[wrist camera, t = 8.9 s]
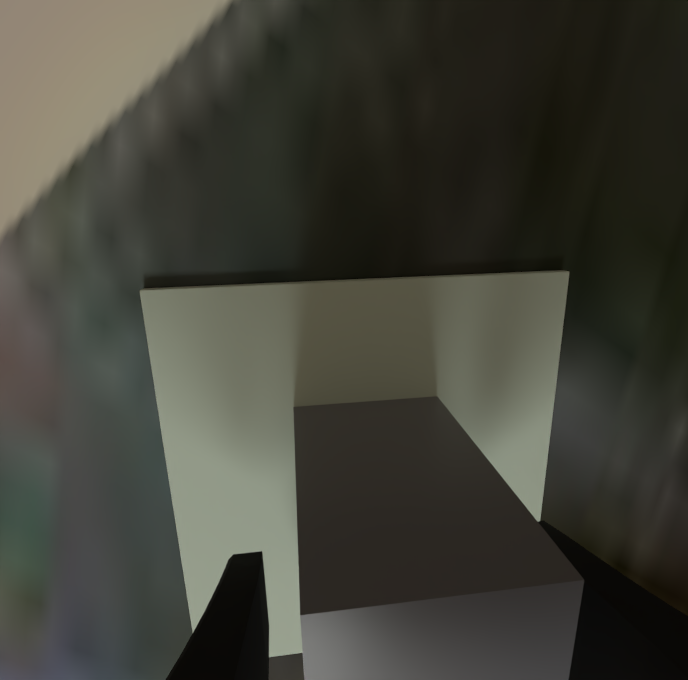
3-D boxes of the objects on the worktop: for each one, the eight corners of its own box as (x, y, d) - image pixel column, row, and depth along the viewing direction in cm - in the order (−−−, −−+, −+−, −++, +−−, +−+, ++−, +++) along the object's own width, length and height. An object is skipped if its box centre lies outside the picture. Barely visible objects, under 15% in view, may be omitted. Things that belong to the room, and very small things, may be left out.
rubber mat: (523, 614, 16) (528, 622, 15) (199, 657, 14) (198, 666, 14) (562, 270, 12) (569, 271, 12) (143, 288, 11) (139, 290, 11)
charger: (431, 544, 14) (547, 813, 8) (302, 558, 14) (316, 855, 7) (437, 396, 13) (584, 580, 6) (293, 406, 12) (300, 615, 6)
